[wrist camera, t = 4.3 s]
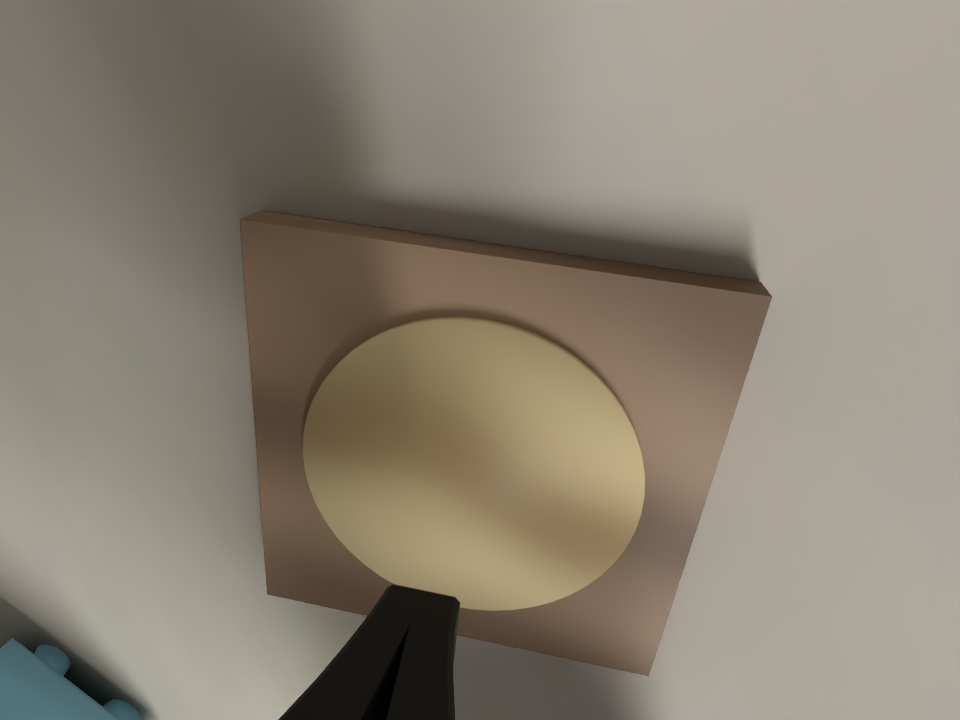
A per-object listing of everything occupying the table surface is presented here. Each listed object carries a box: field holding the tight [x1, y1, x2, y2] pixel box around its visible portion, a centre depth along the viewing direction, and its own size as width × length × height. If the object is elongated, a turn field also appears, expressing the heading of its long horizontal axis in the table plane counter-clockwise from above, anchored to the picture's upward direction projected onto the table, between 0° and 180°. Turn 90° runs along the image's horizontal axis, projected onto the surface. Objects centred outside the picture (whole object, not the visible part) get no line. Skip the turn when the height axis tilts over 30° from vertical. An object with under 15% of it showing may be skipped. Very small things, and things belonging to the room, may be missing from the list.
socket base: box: [240, 211, 772, 676], centre depth 17 cm, size 12×12×1 cm
